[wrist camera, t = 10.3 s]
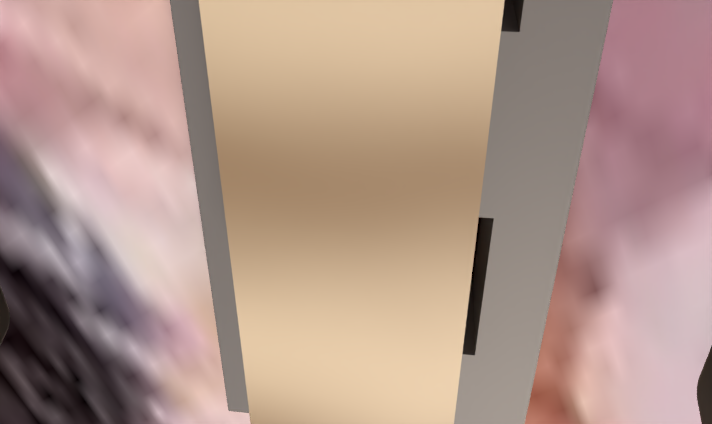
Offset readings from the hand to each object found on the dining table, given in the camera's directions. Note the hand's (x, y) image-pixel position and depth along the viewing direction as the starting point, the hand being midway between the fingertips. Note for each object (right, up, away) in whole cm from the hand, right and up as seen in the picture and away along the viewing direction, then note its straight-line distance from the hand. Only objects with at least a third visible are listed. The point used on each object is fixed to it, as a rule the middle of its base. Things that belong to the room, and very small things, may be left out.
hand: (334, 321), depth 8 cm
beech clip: (+1, +5, +8) cm, 9 cm away
